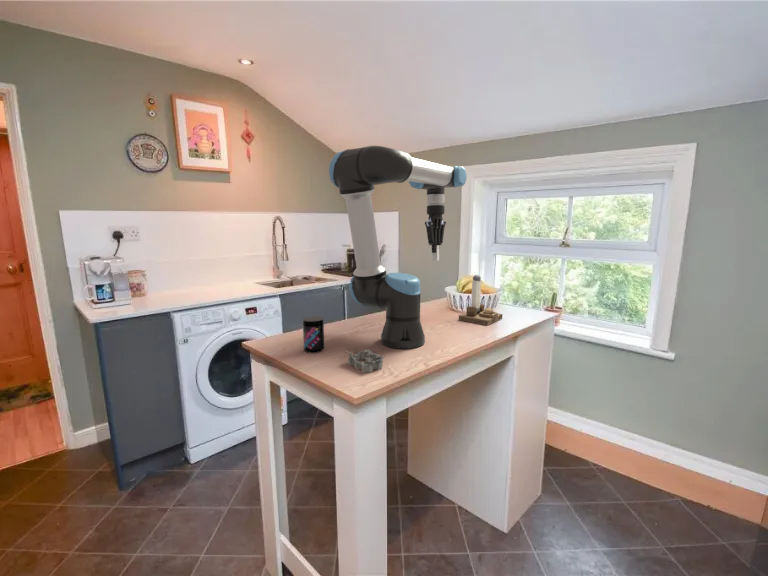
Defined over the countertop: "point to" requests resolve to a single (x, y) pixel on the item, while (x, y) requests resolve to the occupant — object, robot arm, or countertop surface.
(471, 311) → the base
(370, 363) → the egg carton
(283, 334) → the countertop surface
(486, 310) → the walnut
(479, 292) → the lever
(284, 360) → the countertop surface
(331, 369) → the countertop surface
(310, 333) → the supplement container
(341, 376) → the countertop surface
